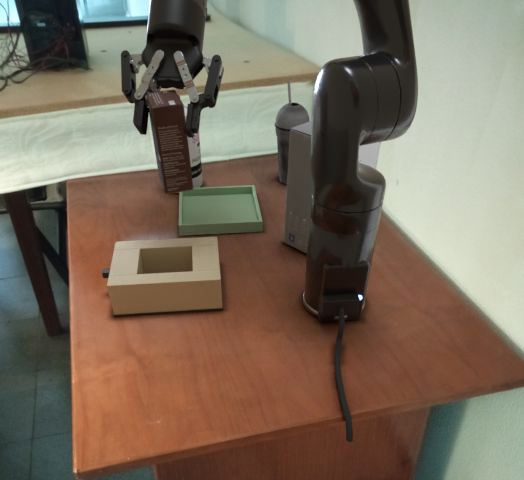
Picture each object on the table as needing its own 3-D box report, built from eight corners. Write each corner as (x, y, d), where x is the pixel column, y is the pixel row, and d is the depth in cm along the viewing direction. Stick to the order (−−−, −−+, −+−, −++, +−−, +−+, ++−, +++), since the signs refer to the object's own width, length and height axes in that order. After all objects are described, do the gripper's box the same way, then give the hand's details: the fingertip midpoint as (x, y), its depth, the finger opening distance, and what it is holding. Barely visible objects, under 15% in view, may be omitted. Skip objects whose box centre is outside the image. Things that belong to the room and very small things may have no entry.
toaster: (223, 309, 74) (221, 279, 70) (103, 317, 73) (94, 286, 69) (219, 265, 83) (217, 236, 79) (112, 270, 82) (105, 241, 78)
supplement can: (159, 182, 106) (149, 107, 96) (195, 175, 109) (189, 102, 99) (170, 197, 101) (160, 120, 91) (208, 190, 104) (203, 115, 93)
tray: (262, 231, 91) (262, 221, 90) (179, 235, 90) (178, 225, 89) (254, 194, 102) (254, 185, 101) (180, 197, 101) (179, 188, 100)
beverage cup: (303, 188, 105) (311, 85, 91) (270, 185, 106) (272, 82, 92) (308, 174, 110) (316, 74, 96) (276, 171, 111) (279, 72, 97)
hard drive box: (314, 259, 85) (326, 141, 71) (281, 243, 88) (286, 127, 75) (367, 227, 93) (386, 115, 79) (335, 213, 97) (348, 104, 83)
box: (156, 177, 75) (144, 91, 66) (186, 174, 76) (178, 88, 67) (163, 195, 71) (151, 105, 62) (194, 191, 72) (186, 102, 63)
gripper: (116, -12, 64) (102, 116, 63) (226, -8, 62) (212, 123, 62) (135, 28, 71) (123, 143, 71) (234, 32, 70) (222, 149, 70)
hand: (165, 133), depth 66 cm, fingers closed on box, 6 cm apart
